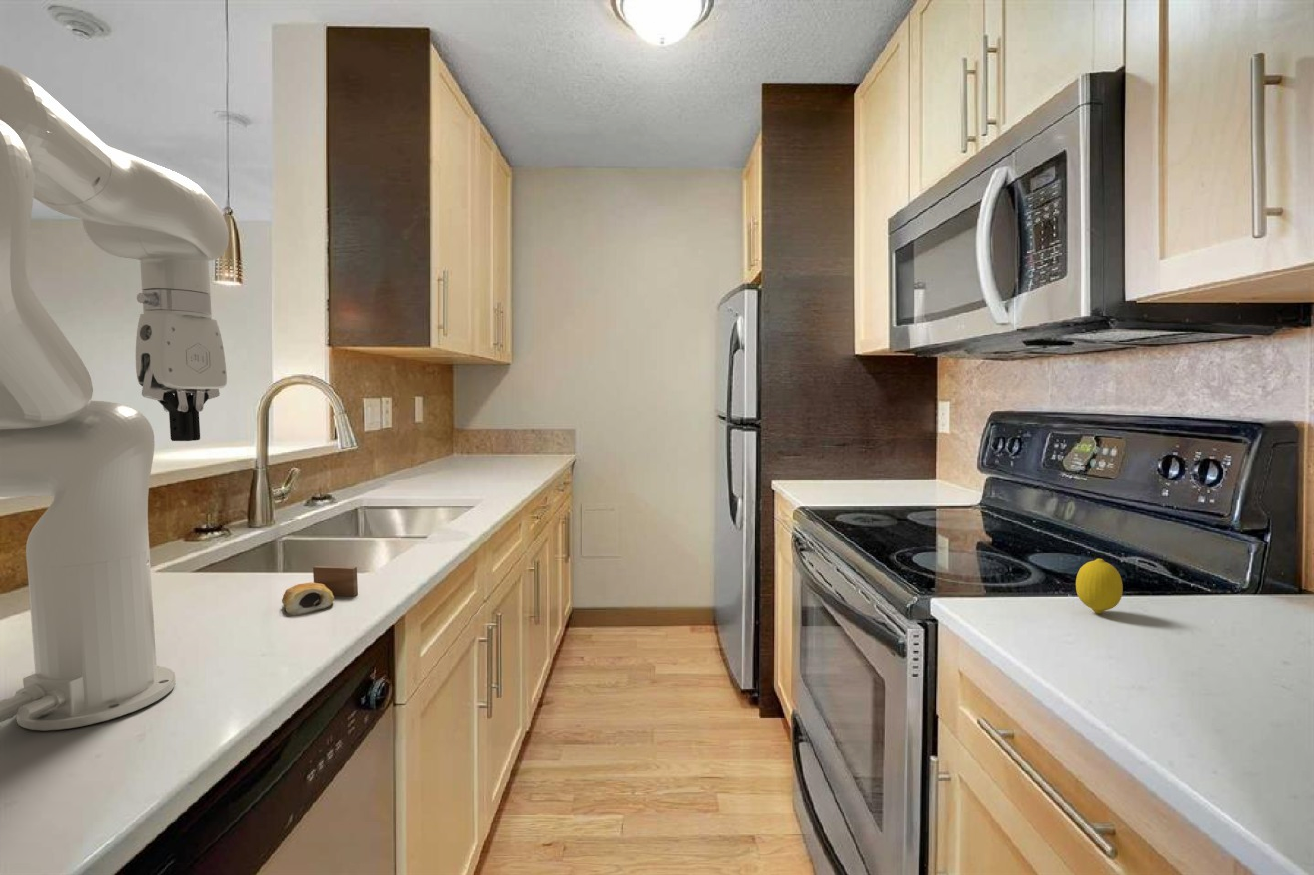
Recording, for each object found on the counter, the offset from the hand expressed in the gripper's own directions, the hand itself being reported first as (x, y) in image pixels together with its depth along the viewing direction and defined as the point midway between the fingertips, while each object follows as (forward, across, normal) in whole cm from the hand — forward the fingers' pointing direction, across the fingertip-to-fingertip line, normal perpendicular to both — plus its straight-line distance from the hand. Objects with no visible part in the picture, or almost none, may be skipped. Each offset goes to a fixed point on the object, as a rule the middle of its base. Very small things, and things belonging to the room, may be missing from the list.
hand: (185, 440), depth 89 cm
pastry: (+26, +9, -10) cm, 30 cm away
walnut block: (+26, +15, -11) cm, 32 cm away
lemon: (+26, +25, -126) cm, 131 cm away
